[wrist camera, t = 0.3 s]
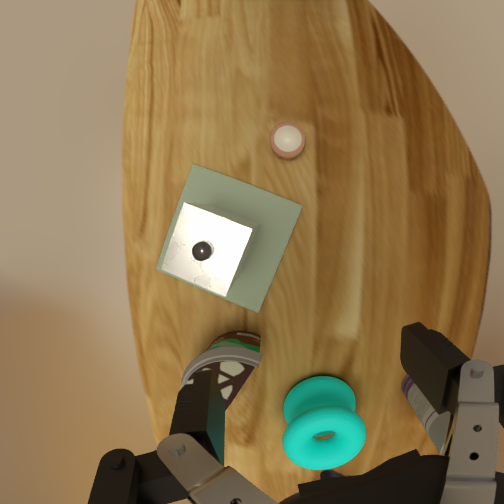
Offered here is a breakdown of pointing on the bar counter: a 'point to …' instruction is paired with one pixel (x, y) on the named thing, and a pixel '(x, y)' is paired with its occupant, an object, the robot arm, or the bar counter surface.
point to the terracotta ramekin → (287, 141)
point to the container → (427, 413)
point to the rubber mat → (254, 208)
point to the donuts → (322, 424)
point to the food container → (228, 362)
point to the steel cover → (209, 246)
